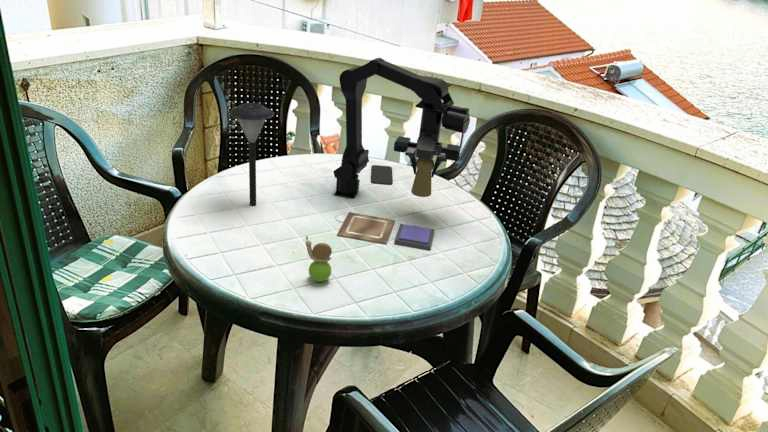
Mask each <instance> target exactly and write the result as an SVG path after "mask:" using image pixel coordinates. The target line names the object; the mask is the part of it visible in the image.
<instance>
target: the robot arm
mask: <svg viewBox="0 0 768 432" xmlns="http://www.w3.org/2000/svg"><path fill="white" fill-rule="evenodd" d="M375 75H376V76H378V77H381V78H382V79H385V80H388V81H389V82H393V83H394V84H396V85H399V86H401V87H404V88H406V89H409V90H410V91H412V92H413V93H414V94H415V95H416V96H417V97H418V98H419V99H421V100H420V101H419V102H418V103H416V104H415V108H419V109H421V110H422V111H421V119H420V126H419V134H418V138H417V140H416V142H412V141H411V138H410V137H408V136H400V135H399V136H397V137H396V138H395V139H396V140H395V141H394V144H393V151H394V152H399V153H403V154H404V155H405V156H408V158H409V159H410V162H411V166H412V170H413V175H415V176H416V172H417V166H416V162H417V160H418V158H426V159H429V160H431V159H433V160H434V157H435V156H436V159H435V161H434V167H433V169H432V170H431V179H433V178H434V176H435V175H436V173H437V170H438V168H439V167H440V165H441V164H442V163H445V162H447V161H453V162H458V161H459V160H460V155H461V149H462V148H461V147H460V145H457V144H451V143H447V146H443V142H439V141H440V140H439V139H440V134H441V128H443V129H445V130H448V131H451V132H452V131H453V132H457V133H461V134H466V133H467V131H468V129H469V125H470V122H471V117H470V108H469V107H461V106H456V105H454V104H455V102H454V101H453V98H452V96H451V94H450V92H449V86H448V83H447V82H446V81H445V80H444V79H443V78H438V77H433V76H428V75H426V76H425V75H419V74H417V73H415V72H412V71H410V70H407V68H406V69H405V68H403V67H401V66H398V65H396V64H393V63H391V62H389V61H386V60H385V59H383V58H381V57H377V58H374V59H371V60H370V61H369V62H367V63H365V64H363V65H361V66H357V65H356V66H355V65H354V66H353V67H350V68H348V69H345V70H343V71H342V72H341V73H340V75H339V77H338V78H339V85H340V91H341V93H342V95H343V97H344V100H345V136H346V137H345V139H346V140H345V142H346V143H345V144H346V145H345V149H344V151H343V154H342V157H341V164H340V166H339V167H338V168H337V167H336V169H334V171H333V175H334V178H335V179H336V182H335V183H336V186H335V192H334V196H337V197H338V196H339V197H345V198H350V199H355V198H356V196H357V195H358V194H359V191H360V183H361V182H360V181H361V180H360V179H359V174H360V173H361V172H362V170H364V169H365V168H366V167H367V165H368V163H369V162H370V159H369V152H370V150H369V149H365V148H364V146H363V129H362V128H363V117H362V116H363V111H362V110H363V103H362V102H363V97H364V93H365V91H366V88H367V82H368V79H369V78H371V77H373V76H375ZM441 126H442V127H441Z"/></svg>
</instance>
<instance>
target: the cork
mask: <svg viewBox="0 0 768 432" xmlns="http://www.w3.org/2000/svg"><path fill="white" fill-rule="evenodd" d="M434 165H435V161H434V158H433V159H431V160H429V159H426V158H418V157H417V162H416V166H417V170H416V175H415V176H414V179H413V183H412V187H411V190H410V192H411V194H412V195H414V196H415V197H421V198H428V197H430V196H431V195H432V177H431V176H432V171H433V168H434Z"/></svg>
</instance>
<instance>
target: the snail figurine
mask: <svg viewBox="0 0 768 432" xmlns="http://www.w3.org/2000/svg"><path fill="white" fill-rule="evenodd" d="M305 240H306V241H305V247H306V250H307V255H308V256H309V258H310V259H311V260H312V262H311V263H310V265H309V267H308V275H309V277H310V278H311V279H312V280H313V281H314V282H316V283H317V282H318V283H323V282H326V281H328V279H329V278H330V277H331V275H332V267H331V264H330V263H329V261H331V259H332V257H331V255H332V252H333V250H332V247H331V246H330V245H329V244H327V243H325V242H319V243H317V244H315V245H313V247H312V241H311V240H309V235H306V236H305Z"/></svg>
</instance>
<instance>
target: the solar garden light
mask: <svg viewBox="0 0 768 432" xmlns="http://www.w3.org/2000/svg"><path fill="white" fill-rule="evenodd" d="M228 115H230V117H233V118H235V119H237V120H238V123H239V125H240V127H241V130H242V131H243V133H244V135H245V137H246V139H247V142H248V170H249V171H248V173H249V174H248V175H249V178H248V179H249V206H251V207H256V205H257V171H256V170H257V165H256V163H257V162H256V161H257V154H256V151H257V150H256V149H257V148H256V147H257V145H256V142H257V139H258V138H259V135H260V133H261V130H262V128H263V127H264V124H265V121H266V120H268V119H271V118H272V117H274V116H275V112H274V111H273V110H272V109H270V108H268V107H266V106H264V105H262V104H260V103H255V102H254V103H253V102H247V103H241V104H240V105H237V106H235V107H233V108H231V109H230V110H229V111H228Z"/></svg>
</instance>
